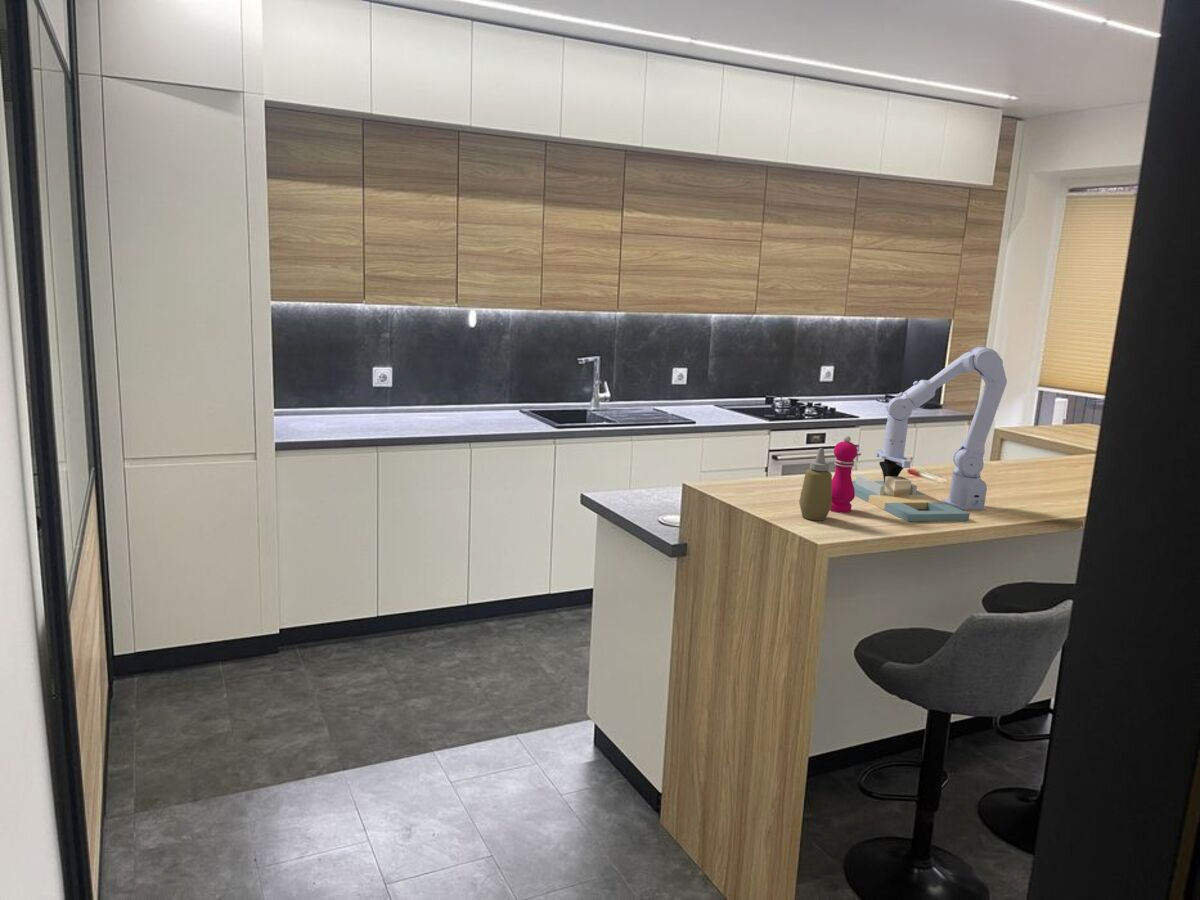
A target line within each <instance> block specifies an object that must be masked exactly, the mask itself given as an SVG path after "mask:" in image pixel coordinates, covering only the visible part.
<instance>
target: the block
mask: <svg viewBox="0 0 1200 900" xmlns="http://www.w3.org/2000/svg"><path fill="white" fill-rule="evenodd" d="M911 484H912V480H910V479H909V478H906V477H903V476H900V475H898V476H886V477H885V484H884V486H885V488H884V492H885V493H887V494H889V495H891V496H893V497H909V495H910V488H911Z"/></svg>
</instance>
